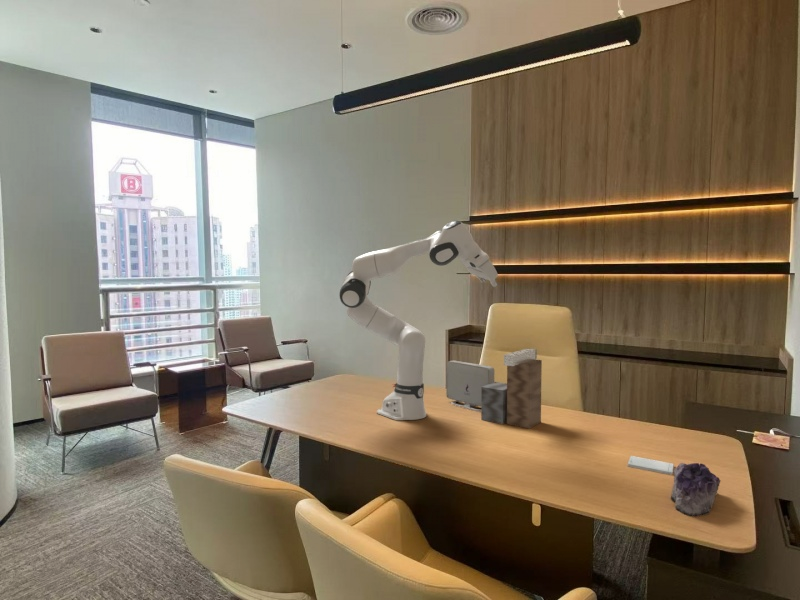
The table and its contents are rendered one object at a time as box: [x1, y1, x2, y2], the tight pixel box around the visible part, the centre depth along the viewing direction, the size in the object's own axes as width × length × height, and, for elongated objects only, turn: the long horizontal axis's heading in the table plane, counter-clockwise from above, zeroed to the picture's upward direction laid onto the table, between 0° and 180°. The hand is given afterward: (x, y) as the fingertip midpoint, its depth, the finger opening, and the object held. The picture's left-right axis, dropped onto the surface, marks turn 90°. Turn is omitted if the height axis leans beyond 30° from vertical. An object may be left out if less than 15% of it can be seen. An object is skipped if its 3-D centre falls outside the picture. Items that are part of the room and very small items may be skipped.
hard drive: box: [627, 455, 675, 476], centre depth 151 cm, size 2×8×12 cm
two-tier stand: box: [480, 359, 543, 429], centre depth 199 cm, size 21×12×26 cm, turn 51°
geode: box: [670, 462, 721, 517], centre depth 127 cm, size 20×12×10 cm, turn 145°
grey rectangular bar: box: [503, 348, 538, 366], centre depth 192 cm, size 4×22×4 cm, turn 141°
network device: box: [445, 359, 495, 412], centre depth 222 cm, size 26×9×20 cm, turn 42°
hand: (489, 283), depth 191 cm, fingers open, 8 cm apart
